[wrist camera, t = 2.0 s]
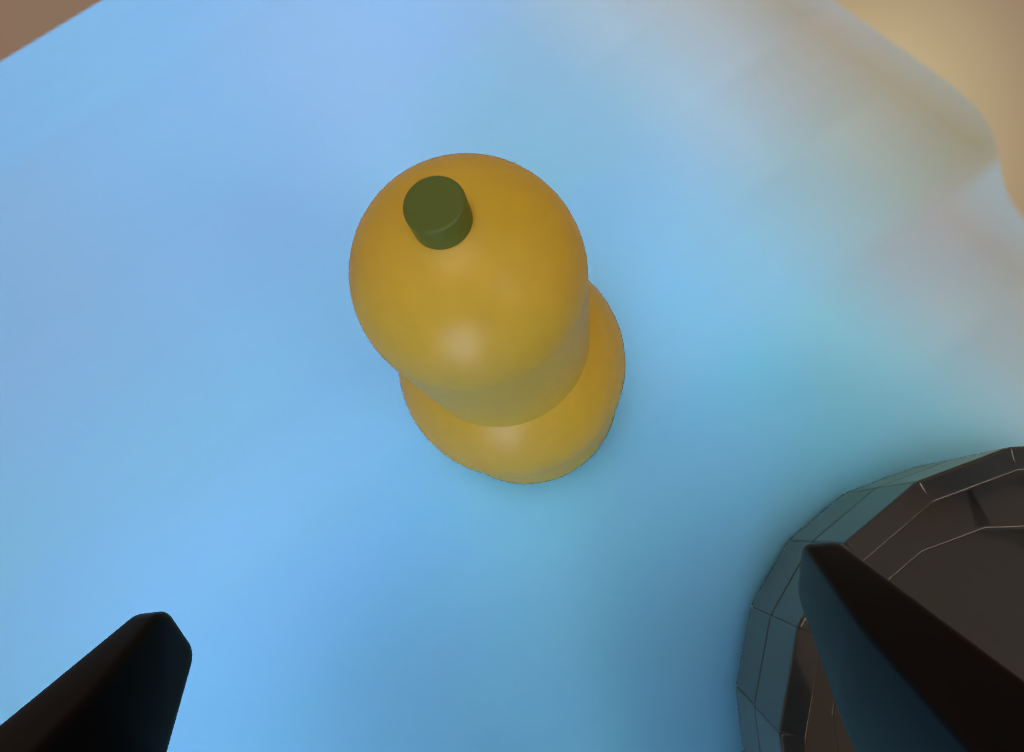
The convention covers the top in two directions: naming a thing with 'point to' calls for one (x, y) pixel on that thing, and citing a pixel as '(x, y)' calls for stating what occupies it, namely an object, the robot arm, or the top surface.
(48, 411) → the top surface
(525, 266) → the squash
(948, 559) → the black metal bowl
